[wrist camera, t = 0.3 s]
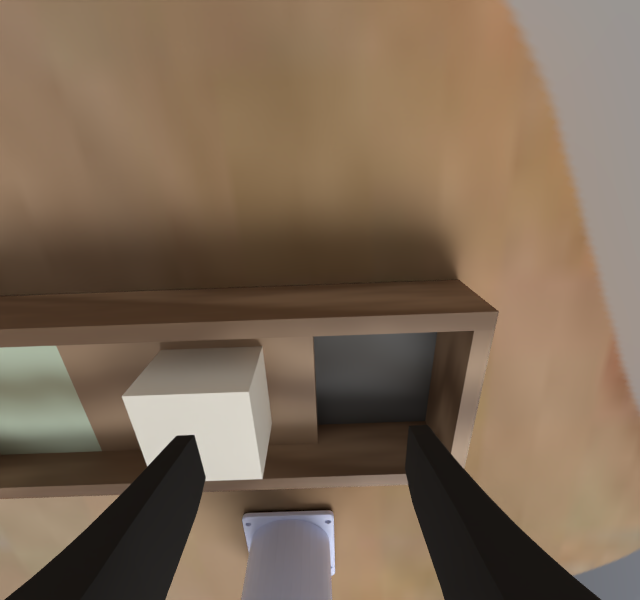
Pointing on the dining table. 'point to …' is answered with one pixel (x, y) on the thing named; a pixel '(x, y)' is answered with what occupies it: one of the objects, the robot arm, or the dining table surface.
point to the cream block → (205, 408)
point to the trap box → (281, 373)
